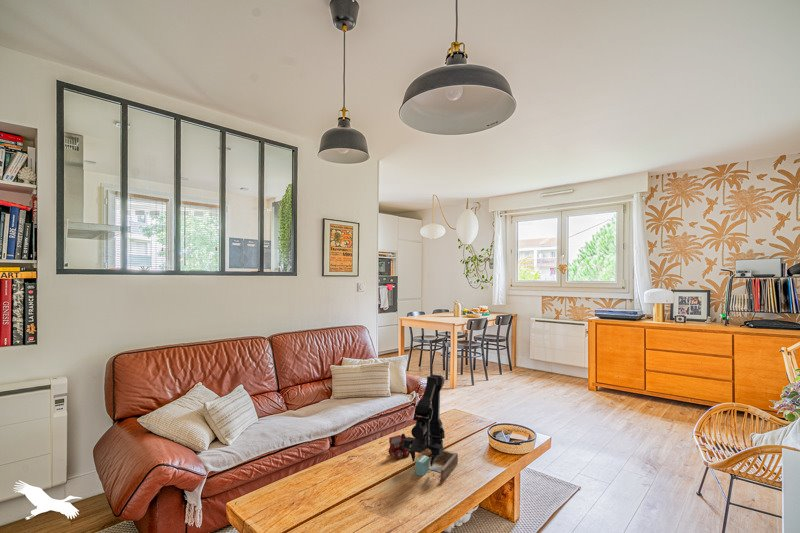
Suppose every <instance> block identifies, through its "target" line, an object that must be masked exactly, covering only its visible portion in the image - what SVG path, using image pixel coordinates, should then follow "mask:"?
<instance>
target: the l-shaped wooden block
mask: <svg viewBox="0 0 800 533" xmlns="http://www.w3.org/2000/svg"><path fill="white" fill-rule="evenodd" d="M435 460H437V461H440V462H444V463H445V464H444V465H443V466H439V465H436V464H433V465H432V467H431V466H429V470H430V471H433V472H436V473H439V474H440V481H442V482H445V481H446V479H447V478H448V476H450V474H451V473H452V472H453V471H454V469H455V468H456V466H457V465H458V462H459V454H458V452H455V451H449V450H446V449H443V452H442V453H441V454H440V455H437V456H436V458H435ZM429 470H428V471H429Z"/></svg>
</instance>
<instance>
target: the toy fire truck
mask: <svg viewBox="0 0 800 533" xmlns="http://www.w3.org/2000/svg"><path fill="white" fill-rule="evenodd" d="M407 437H408V436H406V434H405V433H402V434H399V435H395V436H391V437H389V438H388V442H389V448H388V450H387V451H388V454H389V455H390V456H394V458H395V460H400V459H401V458H402V456H403V457H405V458H406V456H407V457H409V456H410V455H411V454H410V452H409V450H408V449H406V448H405V447H404V446H403V441H404V440H405V439H406V438H407Z"/></svg>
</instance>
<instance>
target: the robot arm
mask: <svg viewBox="0 0 800 533" xmlns="http://www.w3.org/2000/svg"><path fill="white" fill-rule="evenodd" d="M444 384H445V377H443V375H442V374H441V375H440V374H433V373H430V375H429V376H428V375H427V376H426V385H425V388H424V391H423V394H422V397H421V399H418V402H417V404H416V406H415V408H414V413H413V417H412V418H413V419H412V420H413V421H414V422H415V425H414V426H412V429H411V432H410V433H411V435H412V437H411V436H406V437H407V438H406V439H405V440H404V441H403V446H404V447H405V448H406V449H408V450H409V452H410V454H409V455H410V457H411V459H412V462H413V463H414V462H416V460H415V459H416V453H418V454H422V452H423V451H427V450H430V467H432V465H434V463H435V460H436V456H437V455H440V454H441V453H442V452H443V450H444V440H443V439H446V438H445V436H446V434H445V429H444V427H443V421H442V420H441V418H440V412H441V411H440V406H441V391H442V389H443V387H444Z"/></svg>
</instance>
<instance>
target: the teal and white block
mask: <svg viewBox="0 0 800 533" xmlns="http://www.w3.org/2000/svg"><path fill="white" fill-rule="evenodd" d="M414 467H415V468H414V471H415V472H414V474H415V475H417V476H420V477H424V476H425V475H426V473H427V472H429V469H430V457H429V456H427V455H423V454H421V455H420V456H419V457H418V458H417V459H416V460H415V466H414Z"/></svg>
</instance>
